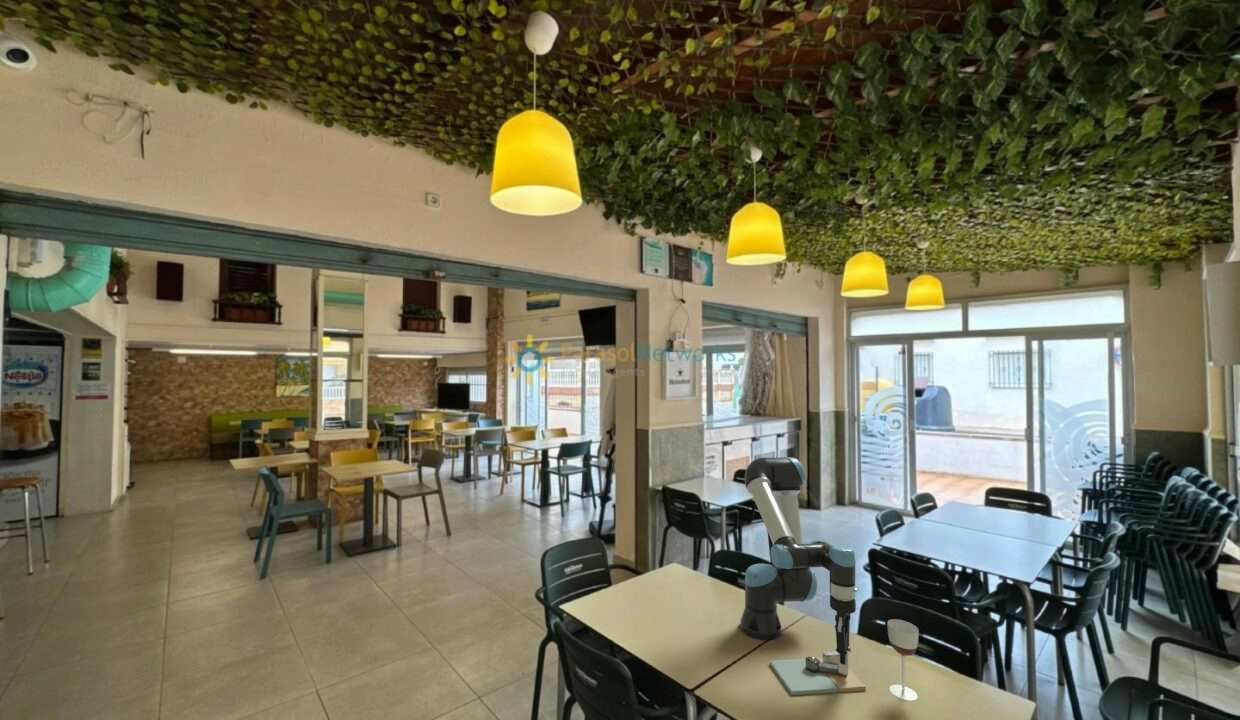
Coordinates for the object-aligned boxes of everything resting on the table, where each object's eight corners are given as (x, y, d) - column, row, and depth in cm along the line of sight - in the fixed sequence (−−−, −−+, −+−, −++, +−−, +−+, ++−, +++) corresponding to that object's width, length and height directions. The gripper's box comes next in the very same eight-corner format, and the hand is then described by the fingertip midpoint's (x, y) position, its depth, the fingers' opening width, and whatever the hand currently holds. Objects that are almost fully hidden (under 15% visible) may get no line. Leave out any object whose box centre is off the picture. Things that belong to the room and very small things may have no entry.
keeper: (822, 661, 164) (822, 652, 164) (836, 660, 164) (836, 651, 165) (825, 665, 162) (825, 655, 162) (840, 664, 162) (840, 654, 163)
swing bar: (805, 671, 158) (805, 658, 158) (805, 663, 162) (805, 651, 162) (848, 678, 154) (848, 665, 155) (846, 670, 159) (846, 657, 159)
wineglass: (904, 703, 145) (904, 635, 146) (881, 685, 153) (881, 621, 154) (925, 699, 147) (925, 631, 148) (902, 681, 156) (901, 617, 156)
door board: (769, 664, 164) (769, 660, 164) (837, 660, 167) (837, 656, 167) (791, 695, 148) (791, 691, 148) (865, 690, 151) (865, 686, 151)
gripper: (852, 606, 149) (853, 687, 148) (858, 592, 160) (859, 667, 158) (825, 600, 153) (826, 678, 152) (833, 587, 164) (834, 659, 162)
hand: (843, 672), depth 155 cm, fingers closed
